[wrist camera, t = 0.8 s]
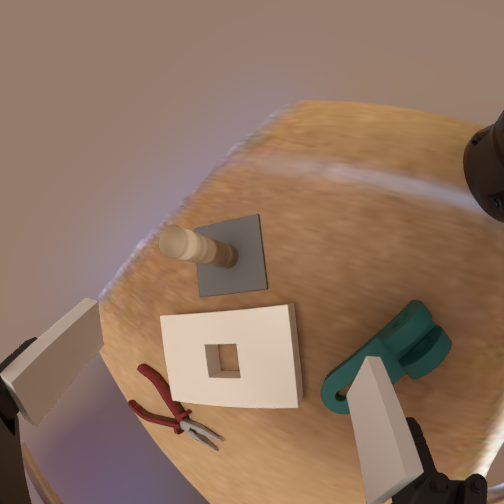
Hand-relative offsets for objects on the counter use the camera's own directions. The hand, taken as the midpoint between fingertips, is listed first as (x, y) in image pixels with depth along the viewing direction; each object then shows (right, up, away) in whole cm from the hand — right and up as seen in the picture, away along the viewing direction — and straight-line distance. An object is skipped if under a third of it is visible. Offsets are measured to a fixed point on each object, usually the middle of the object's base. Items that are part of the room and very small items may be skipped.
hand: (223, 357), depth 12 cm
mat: (-2, +4, +30) cm, 30 cm away
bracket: (+19, -10, +21) cm, 30 cm away
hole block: (-1, -11, +28) cm, 30 cm away
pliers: (-14, -25, +31) cm, 42 cm away
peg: (-2, +4, +30) cm, 30 cm away
